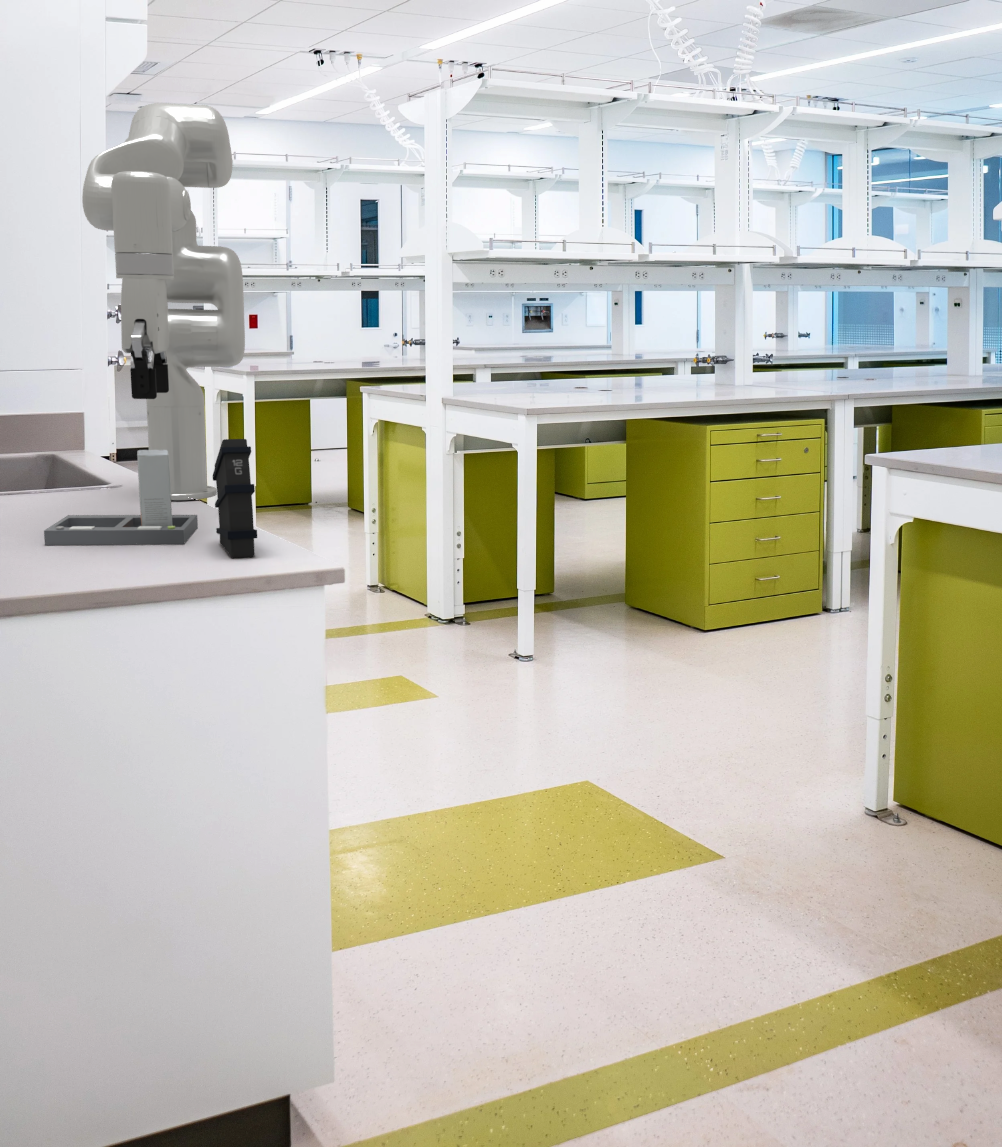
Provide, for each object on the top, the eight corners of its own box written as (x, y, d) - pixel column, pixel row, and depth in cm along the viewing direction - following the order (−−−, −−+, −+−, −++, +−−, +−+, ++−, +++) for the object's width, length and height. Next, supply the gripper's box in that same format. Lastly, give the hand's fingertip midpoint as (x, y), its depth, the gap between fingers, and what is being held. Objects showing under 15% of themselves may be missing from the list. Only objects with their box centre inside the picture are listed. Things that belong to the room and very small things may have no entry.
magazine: (231, 550, 150) (220, 438, 153) (220, 575, 162) (210, 471, 165) (261, 549, 151) (249, 437, 154) (248, 574, 163) (237, 470, 166)
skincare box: (141, 533, 170) (136, 449, 168) (171, 532, 172) (168, 449, 169) (141, 540, 165) (137, 454, 162) (173, 539, 166) (169, 453, 164)
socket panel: (68, 528, 173) (67, 513, 173) (197, 528, 175) (197, 512, 175) (44, 545, 160) (43, 528, 160) (184, 544, 162) (183, 527, 162)
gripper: (129, 268, 169) (135, 390, 173) (102, 266, 152) (109, 401, 156) (183, 269, 169) (188, 390, 173) (162, 267, 153) (168, 401, 157)
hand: (151, 395), depth 165 cm, fingers open, 9 cm apart
